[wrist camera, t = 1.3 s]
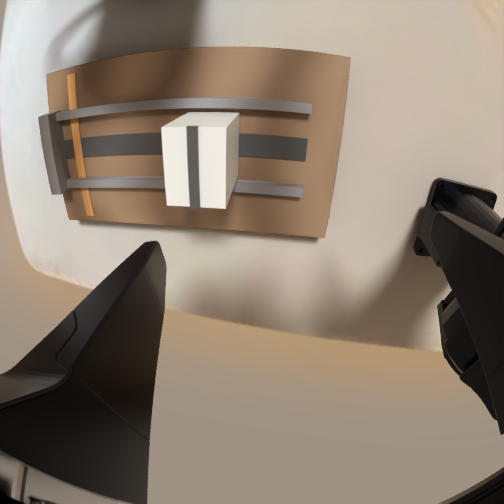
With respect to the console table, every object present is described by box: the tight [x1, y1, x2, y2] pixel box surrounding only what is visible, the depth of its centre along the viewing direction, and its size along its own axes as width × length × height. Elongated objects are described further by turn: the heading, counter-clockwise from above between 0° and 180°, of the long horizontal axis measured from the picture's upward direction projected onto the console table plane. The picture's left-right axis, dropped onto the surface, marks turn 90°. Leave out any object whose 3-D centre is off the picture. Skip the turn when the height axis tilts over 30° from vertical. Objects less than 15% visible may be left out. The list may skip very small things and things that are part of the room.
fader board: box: [38, 47, 350, 238], centre depth 17 cm, size 20×12×3 cm, turn 88°
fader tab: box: [161, 112, 240, 210], centre depth 15 cm, size 3×4×5 cm
